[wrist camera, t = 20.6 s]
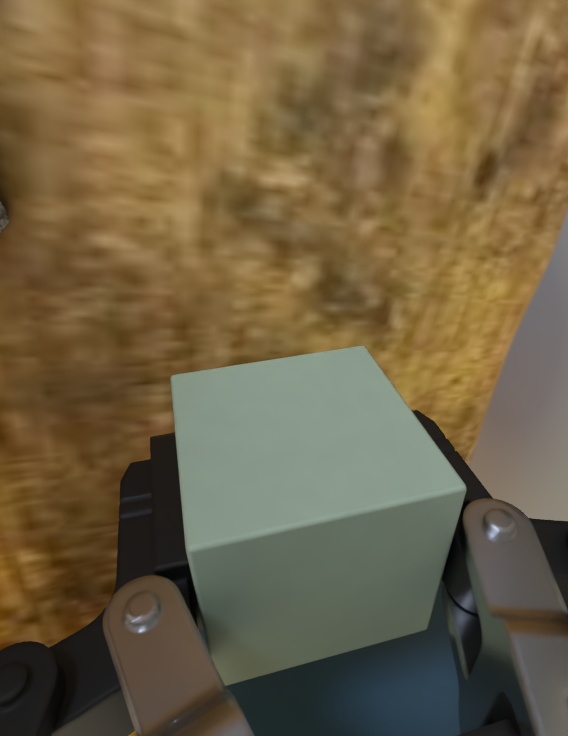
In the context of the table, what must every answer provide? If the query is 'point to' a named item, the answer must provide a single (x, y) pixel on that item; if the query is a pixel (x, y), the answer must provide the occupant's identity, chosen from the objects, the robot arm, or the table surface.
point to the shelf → (362, 690)
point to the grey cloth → (3, 217)
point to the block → (308, 509)
